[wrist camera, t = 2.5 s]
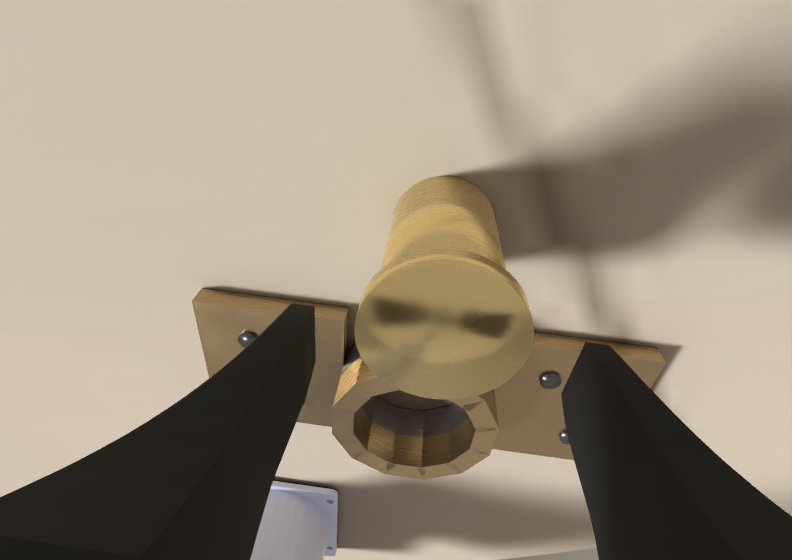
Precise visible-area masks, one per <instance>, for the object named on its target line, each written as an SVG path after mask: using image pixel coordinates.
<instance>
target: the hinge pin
mask: <svg viewBox="0 0 792 560" xmlns="http://www.w3.org/2000/svg"><path fill="white" fill-rule="evenodd" d="M354 337H355V342H356V346H357V349H358V351H359V354H360V356H361V357H362V359H363V361H364V362H365V364H366V365H367V366H368V367H369V369H370V370H371V371H372V372H373V373H374V374H375V375H376V376H378V377H379V378H380V379H381V380H383V381H384V382H386V383H387V384H389V385H391V386H392V387H394V388H397V389H399V390H401V391H403V392H406V393H409V394H412V395H416V396H419V397H424V398H430V399H462V398H468V397H473V396H476V395H480V394H483V393H486V392H488V391H491V390H493V389H495V388H497V387H499V386H501V385H502V384H504V383H505V382H507V381H508V380H510V379H511V378H512V377H513V376H514V375H516V373H517V372H518V371H519V370H520V369H521V368H522V367H523V365H524V364H525V362H526V361H527V359H528V357H529V355H530V353H531V350H532V346H533V343H534V325H533V321H532V317H531V313H530V309H529V305H528V302H527V298H526V296H525V293H524V291H523V289H522V288H521V286H520V285H519V283H518V282H517V280H516V279H515V278H514V277H513V276H512V275H511V274H510V273H509V272H508V271H507V270H506V267H505V263H504V258H503V253H502V249H501V244H500V239H499V235H498V230H497V225H496V221H495V216H494V212H493V208H492V206H491V203H490V201H489V200H488V198H487V197H486V195H485V194H484V193H483V192H482V191H481V190H480V189H479V188H478V187H476V186H475V185H473V184H472V183H470V182H468V181H466V180H463V179H460V178H455V177H447V176H441V177H433V178H429V179H426V180H423V181H421V182H419V183H417V184H415V185H414V186H412V187H411V188H410V189H408V190H407V191H406V192H405V193H404V194H403V195H402V197H401V198H400V200H399V201H398V203H397V205H396V207H395V210H394V213H393V218H392V222H391V227H390V231H389V236H388V241H387V245H386V250H385V254H384V259H383V263H382V268H381V270H380V271H379V272H378V273H377V274H376V275H375V276H374V277H373V278H372V279H371V281H370V282H369V283H368V285H367V286H366V288H365V290H364V292H363V294H362V297H361V300H360V304H359V308H358V312H357V315H356V319H355V326H354Z"/></svg>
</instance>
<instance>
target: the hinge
mask: <svg viewBox="0 0 792 560" xmlns="http://www.w3.org/2000/svg"><path fill="white" fill-rule="evenodd" d="M292 303H294V304H302V305H309V306H315V349H316V362H315V366H314V369H313V373H312V377H311V381H310V385H309V388H308V392H307V395H306V398H305V401H304V403H303V406H302V408H301V411H300V413H299V416H298V418H297V421H296V422H301V423H308V424H316V425H323V426H330V427H332V434H333V435H334V436H335V438H336V439H337V440H338V441H339V443H340V444H341V445H342V446H343V448H344V449H345V450H346V451H347V452H348V454H349V455H350V456H351V457H352V458H353V459H355V460H357V461H360V462H362V463H364V464H366V465H368V466H370V467H372V468H374V469H376V470H378V471H380V472H382V473H384V474H389V475H397V476H404V477H411V478H418V479H429V478H435V477H441V476H447V475H453V474H459V473H462V472H464V471H466V470H467V469H469V468H470V467H472V466H474V465H475V464H477V463H478V462H480V461H481V460H483V459H485V458H486V457H488V456H489V455H490V453H491V450H492V449H497V450H505V451H512V452H519V453H526V454H534V455H541V456H548V457H556V458H563V459H570V460H574V457H573V454H572V450H571V446H570V443H569V439H568V435H567V431H566V426H565V420H564V413H563V405H562V397H561V393H562V391H563V389H564V386H565V384H566V382H567V380H568V378H569V376H570V374H571V372H572V369H573V367H574V365H575V363H576V361H577V359H578V357H579V355H580V352H581V350H582V348H583V346H584V344H585V342H590V343H598V344H605V345H609V346H610V347H611V348H612V349H613V350H614V351H615V352H616V353H617V354H618V355H619V356H620V357H621V358H622V359H623V360H624V361H625V362H626V363H627V364H628V365H629V366H630V367H631V369H632V370H633V371H634V372H635V373H636V374H637V375H638V376H639V377H640V378H641V379H642V380H643V381H644V383H645V384H646V385H647V386H648V387H649V388H651V387H652V385H653V384H654V382H655V381H656V379H657V377H658V376H659V374H660V373H661V371H662V370H663V368H664V366H665V365H666V362H665V360H664V358H663V357H662V355H661V353H660V351H659V350H658V348H653V347H645V346H637V345H630V344H622V343H615V342H607V341H599V340H592V339H584V338H576V337H569V336H561V335H553V334H546V333H538V332H534V343H533V346H532V350H531V353H530V355H529V357H528V359H527V361H526V362H525V364H524V365H523V367H522V368H521V369H520V370H519V371H518V372H517V373H516V375H514V376H513V377H512V378H511V379H510V380H508V381H507V382H505V383H504V384H502V385H501V386H499V387H497V388H495V389H493V390H491V391H488V392H486V393H483V394H480V395H476V396H473V397H468V398H462V399H448V400H450V401H452V402H453V403H451V404H450V405H449V406H444V407H440V408H435V409H431V410H426V411H421V410H413V409H406V408H398V407H396V406H394V405H393V404H391V403H389V402H387V401H385V400H383V399H381V398H380V397H378V396H376V395H380V394H384V393H388V392H393V391H397V390H399V389H397V388H394V387H392V386H391V385H389V384H387V383H386V382H384V381H383V380H381V379H380V378H379V377H378V376H376V375H375V374H374V373H373V372H372V371H371V370H370V369H369V367H368V366H367V365H366V364H365V362H364V361H363V359H362V357H361V356H360V354H359V351H358V349H357V346H356V343H355V344H354V345H353V346H352V347H351V348H350V349H349V350H348V351H347V333H348V308H347V307H340V306H332V305H324V304H317V303H309V302H301V301H294V300H286V299H278V298H271V297H263V296H256V295H248V294H240V293H233V292H225V291H217V290H210V289H201V290H200V291H199V292H198V294H197V295H196V296H195V298H194V299H193V300H192V304H193V308H194V313H195V317H196V322H197V326H198V330H199V335H200V339H201V344H202V348H203V352H204V357H205V361H206V366H207V370H208V374H209V378H211V377H212V376H213V375H214V374H215V373H217V372H218V371H219V370H220V369H221V368H223V367H224V366H225V365H226V364H227V363H229V362H230V361H231V360H232V359H233V358H235V357H236V356H237V355H238V354H239V353H240V352H241V351H242V350H244V349H245V348H246V347H247V346H248V345H249V344H250V343H251V342H252V341H253V340H254V339H255V338H257V337H258V336H259V335H260V334H261V333H262V332H263V331H264V330H265V329H266V328H267V327H268V326H269V325H270V324H271V323H272V322H273V321H274V320H275V319H276V318H277V317H278V316H279V315H280V314H281V313H282V312H283V311H284V310H285V309H286V308H287V307H288V306H289V305H290V304H292Z"/></svg>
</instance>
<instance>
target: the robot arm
mask: <svg viewBox="0 0 792 560" xmlns="http://www.w3.org/2000/svg"><path fill="white" fill-rule="evenodd" d="M315 362H316V349H315V306H309V305H302V304H294V303H292V304H290V305H289V306H288V307H287V308H286V309H285V310H284V311H283V312H282V313H281V314H280V315H279V316H278V317H277V318H276V319H275V320H274V321H273V322H272V323H271V324H270V325H269V326H268V327H267V328H266V329H265V330H264V331H263V332H262V333H261V334H260V335H259V336H258V337H257V338H255V339H254V340H253V341H252V342H251V343H250V344H249V345H248V346H247V347H246V348H245V349H244V350H242V351H241V352H240V353H239V354H238V355H237V356H236V357H235V358H233V359H232V360H231V361H230V362H229V363H227V364H226V365H225V366H224V367H223V368H221V369H220V370H219V371H218V372H217V373H215V374H214V375H213V376H212V377H211V378H209V379H208V380H207V381H205V382H204V383H203V384H201V385H200V386H199V387H198V388H196V389H195V390H194V391H192V392H191V393H189V394H188V395H187V396H185V397H184V398H182V399H181V400H180V401H178V402H177V403H175V404H174V405H172V406H171V407H169V408H168V409H166V410H165V411H163V412H162V413H160V414H159V415H157V416H155V417H154V418H152V419H151V420H149V421H148V422H146V423H144V424H143V425H141V426H140V427H138V428H136V429H135V430H133V431H131V432H130V433H128V434H126V435H125V436H123V437H121V438H119V439H117V440H116V441H114V442H112V443H110V444H108V445H107V446H105V447H103V448H101V449H99V450H97V451H96V452H94V453H92V454H90V455H88V456H86V457H84V458H82V459H80V460H79V461H77V462H75V463H73V464H71V465H69V466H67V467H65V468H63V469H61V470H58V471H56V472H54V473H52V474H50V475H48V476H46V477H43V478H41V479H39V480H37V481H35V482H33V483H31V484H28V485H26V486H24V487H22V488H20V489H18V490H16V491H13V492H11V493H9V494H7V495H4V496H2V497H0V560H324V556H335V554H336V550H337V515H338V492H337V491H336V490H333V489H328V488H321V487H314V486H307V485H300V484H293V483H285V482H278V481H273V480H274V477H275V474H276V471H277V469H278V466H279V464H280V461H281V459H282V456H283V454H284V451H285V449H286V446H287V444H288V441H289V439H290V436H291V434H292V431H293V428H294V426H295V423H296V421H297V418H298V416H299V413H300V411H301V408H302V406H303V403H304V401H305V398H306V395H307V392H308V388H309V385H310V381H311V377H312V373H313V369H314V366H315ZM561 397H562V405H563V413H564V420H565V426H566V431H567V435H568V439H569V443H570V446H571V450H572V454H573V457H574V461H575V464H576V468H577V471H578V475H579V478H580V482H581V485H582V489H583V492H584V496H585V499H586V503H587V506H588V510H589V513H590V517H591V522H592V526H593V530H594V534H595V540H596V545H597V551H598V556H599V560H792V516H790V515H789V514H788V513H786V512H785V511H784V510H783V509H781V508H780V507H779V506H777V505H776V504H775V503H773V502H772V501H771V500H770V499H768V498H767V497H766V496H765V495H763V494H762V493H761V492H760V491H758V490H757V489H756V488H755V487H754V486H752V485H751V484H750V483H749V482H748V481H747V480H745V479H744V478H743V477H742V476H741V475H739V474H738V473H737V472H736V471H735V470H734V469H732V468H731V467H730V466H729V465H728V464H727V463H725V462H724V461H723V460H722V459H721V458H720V457H719V456H718V455H717V454H715V453H714V452H713V451H712V450H711V449H710V448H709V447H708V446H707V445H706V444H705V443H704V442H703V441H702V440H701V439H699V438H698V437H697V436H696V435H695V434H694V433H693V432H692V431H691V430H690V429H689V428H688V427H687V426H686V425H685V424H684V423H683V422H682V421H681V420H680V419H679V418H678V417H677V416H676V415H675V414H674V413H673V412H672V411H671V410H670V409H669V408H668V407H667V406H666V405H665V404H664V403H663V402H662V401H661V400H660V399H659V397H658V396H657V395H656V394H655V393H654V392H653V391H652V390H651V389H650V388H649V387H648V386H647V385H646V384H645V383H644V381H643V380H642V379H641V378H640V377H639V376H638V375H637V374H636V373H635V372H634V371H633V370H632V369H631V367H630V366H629V365H628V364H627V363H626V362H625V361H624V360H623V359H622V358H621V357H620V356H619V355H618V354H617V353H616V352H615V351H614V350H613V349H612V348H611V347H610V346H609V345H605V344H598V343H590V342H585V344H584V346H583V348H582V350H581V352H580V355H579V357H578V359H577V361H576V363H575V365H574V367H573V369H572V372H571V374H570V376H569V378H568V380H567V382H566V384H565V386H564V389H563V391H562V393H561Z"/></svg>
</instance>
